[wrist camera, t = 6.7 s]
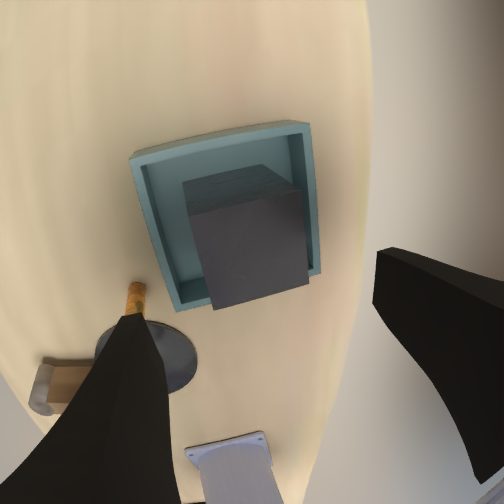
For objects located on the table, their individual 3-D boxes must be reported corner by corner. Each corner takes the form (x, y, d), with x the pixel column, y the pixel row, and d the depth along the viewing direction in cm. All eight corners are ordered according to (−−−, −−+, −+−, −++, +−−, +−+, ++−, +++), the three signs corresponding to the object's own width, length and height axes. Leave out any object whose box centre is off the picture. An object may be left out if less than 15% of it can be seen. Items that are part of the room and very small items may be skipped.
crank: (160, 355, 18) (162, 394, 16) (166, 379, 19) (169, 416, 17) (32, 360, 16) (21, 395, 13) (45, 383, 17) (37, 417, 15)
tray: (303, 253, 19) (320, 273, 16) (174, 287, 17) (175, 312, 15) (290, 119, 15) (309, 122, 13) (135, 151, 14) (128, 159, 12)
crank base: (207, 381, 22) (214, 413, 19) (121, 398, 20) (120, 430, 18) (167, 274, 17) (169, 306, 14) (60, 301, 16) (47, 333, 13)
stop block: (272, 235, 17) (309, 283, 13) (200, 254, 16) (213, 310, 12) (261, 163, 15) (301, 190, 11) (182, 182, 15) (188, 216, 10)
